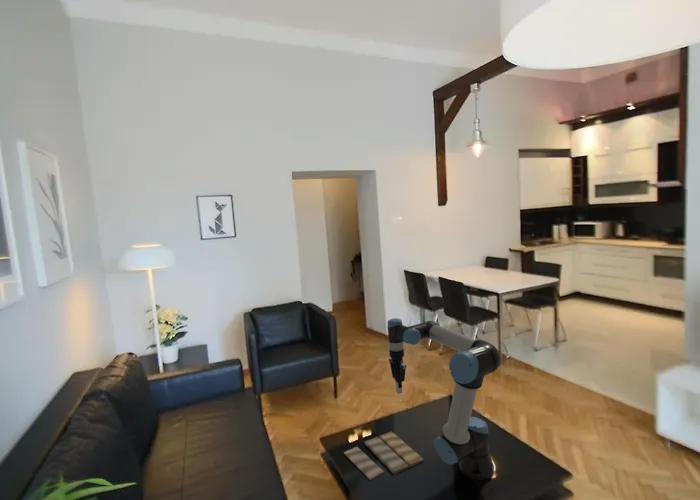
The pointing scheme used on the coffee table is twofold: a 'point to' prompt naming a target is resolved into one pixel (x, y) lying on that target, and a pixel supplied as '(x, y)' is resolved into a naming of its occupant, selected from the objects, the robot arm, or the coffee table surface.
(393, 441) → the laid board
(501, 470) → the coffee table surface
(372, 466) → the plank
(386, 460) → the board
